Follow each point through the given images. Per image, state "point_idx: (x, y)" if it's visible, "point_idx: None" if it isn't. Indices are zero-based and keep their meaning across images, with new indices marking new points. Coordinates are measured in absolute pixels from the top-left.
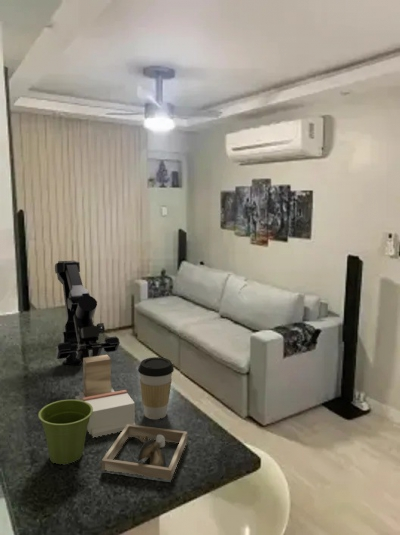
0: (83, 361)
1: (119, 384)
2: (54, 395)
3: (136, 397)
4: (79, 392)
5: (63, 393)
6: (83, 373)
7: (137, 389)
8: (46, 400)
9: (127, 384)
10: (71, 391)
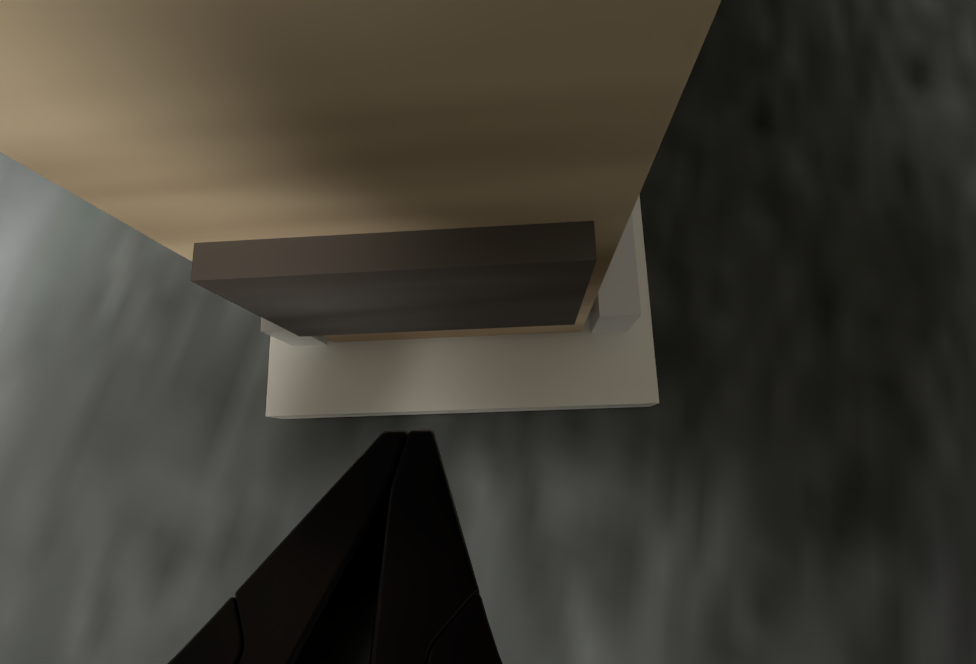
0: (700, 7)
1: (141, 613)
2: (867, 618)
3: (119, 257)
4: (639, 306)
5: (764, 631)
6: (625, 223)
7: (38, 414)
8: (951, 520)
9: (69, 576)
10: (672, 649)
